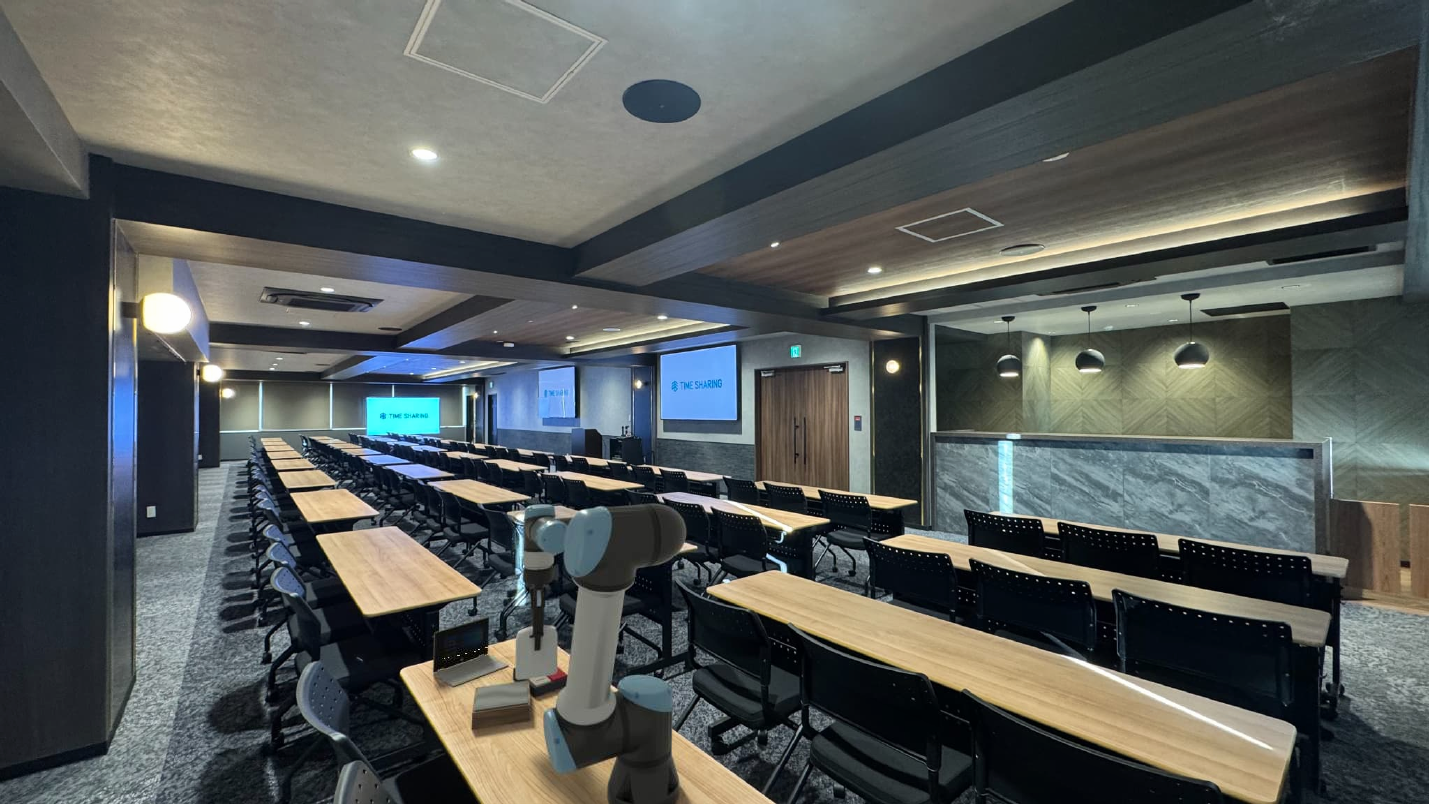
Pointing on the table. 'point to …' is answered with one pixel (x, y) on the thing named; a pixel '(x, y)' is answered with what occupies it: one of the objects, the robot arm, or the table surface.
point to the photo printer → (524, 654)
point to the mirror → (501, 704)
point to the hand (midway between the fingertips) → (536, 658)
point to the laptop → (460, 643)
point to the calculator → (545, 682)
